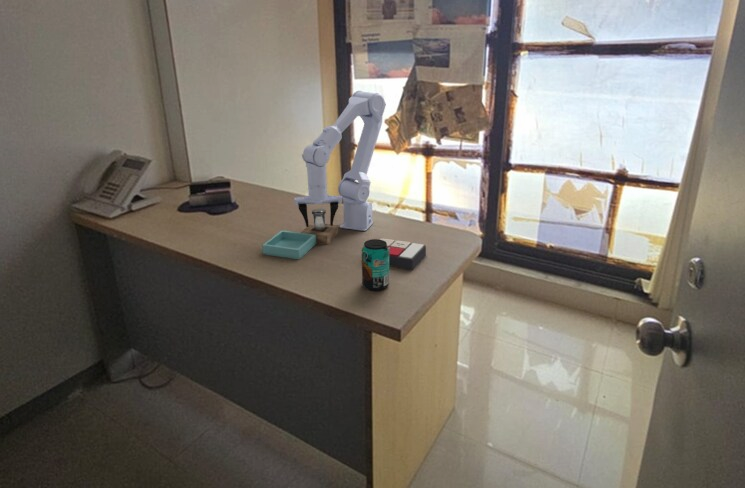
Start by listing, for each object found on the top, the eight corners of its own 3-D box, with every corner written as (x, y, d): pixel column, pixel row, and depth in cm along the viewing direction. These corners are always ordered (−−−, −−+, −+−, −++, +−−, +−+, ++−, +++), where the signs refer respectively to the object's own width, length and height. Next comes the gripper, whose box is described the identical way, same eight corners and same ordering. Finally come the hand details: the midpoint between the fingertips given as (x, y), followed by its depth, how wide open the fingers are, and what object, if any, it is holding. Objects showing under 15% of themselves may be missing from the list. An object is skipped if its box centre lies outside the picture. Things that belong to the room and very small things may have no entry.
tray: (316, 243, 152) (316, 234, 151) (299, 259, 141) (298, 250, 140) (282, 238, 155) (281, 230, 154) (263, 254, 145) (262, 244, 144)
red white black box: (380, 236, 148) (426, 242, 142) (380, 249, 150) (426, 256, 144) (363, 250, 139) (412, 257, 133) (364, 263, 141) (412, 271, 135)
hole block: (338, 233, 159) (338, 225, 158) (327, 244, 151) (327, 235, 150) (313, 230, 162) (312, 222, 160) (301, 240, 154) (300, 232, 153)
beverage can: (361, 279, 130) (361, 238, 125) (387, 278, 130) (388, 237, 125) (362, 292, 124) (362, 249, 119) (390, 291, 124) (390, 249, 119)
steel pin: (329, 235, 158) (327, 209, 154) (323, 240, 154) (322, 214, 150) (316, 234, 159) (315, 208, 155) (311, 239, 155) (309, 212, 152)
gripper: (293, 188, 145) (296, 230, 150) (341, 187, 146) (342, 228, 152) (293, 182, 151) (296, 222, 157) (340, 180, 153) (341, 220, 158)
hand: (319, 225), depth 155 cm, fingers open, 7 cm apart
